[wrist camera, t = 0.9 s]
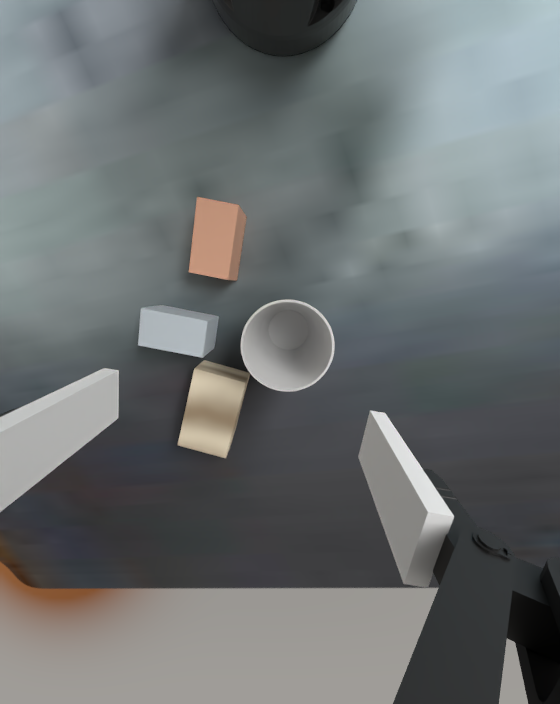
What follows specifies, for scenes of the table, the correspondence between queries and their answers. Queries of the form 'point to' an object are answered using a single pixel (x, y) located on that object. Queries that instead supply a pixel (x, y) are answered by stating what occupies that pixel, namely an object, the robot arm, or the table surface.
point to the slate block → (177, 330)
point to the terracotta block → (217, 239)
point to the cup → (287, 345)
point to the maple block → (213, 408)
